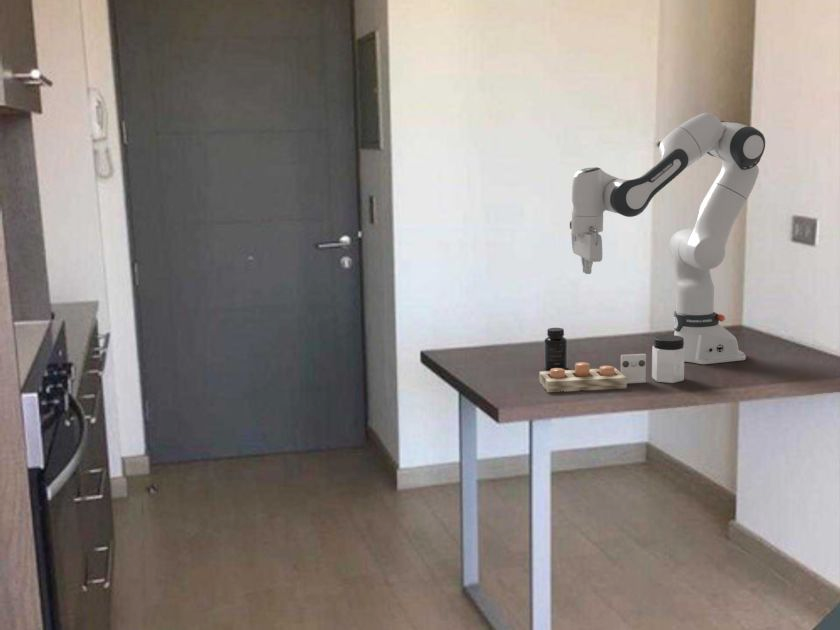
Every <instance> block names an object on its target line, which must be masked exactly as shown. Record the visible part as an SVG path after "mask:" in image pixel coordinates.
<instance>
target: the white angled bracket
mask: <svg viewBox="0 0 840 630" xmlns="http://www.w3.org/2000/svg"><path fill="white" fill-rule="evenodd" d="M620 372H621V373H622V374H623V375H624V376H625V377H627V384H642V383H647V380H646V379H647V377H646V376H647V374H646V373H647V354H646V353H636V354H632V353H631V354H620Z"/></svg>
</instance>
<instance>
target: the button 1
mask: <svg viewBox="0 0 840 630" xmlns="http://www.w3.org/2000/svg"><path fill="white" fill-rule="evenodd" d="M565 370H566V369H562V368H553V369H550V370H549V371H550V378H551V379H553V378H565Z"/></svg>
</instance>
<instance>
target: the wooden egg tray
mask: <svg viewBox="0 0 840 630" xmlns="http://www.w3.org/2000/svg"><path fill="white" fill-rule="evenodd" d="M538 373H539V374H538V380H539V381H538V382H539V384H540V385H541V384H542V385H541V386H542V387H543V388H544V390H545V389H546V390H547V391H546V390H545V391H546V392H547V393H560V391H561V392H562V391H564V392H579V391H580V390H583V391H601V390H621V389H627V388H628V383H627V377H625V376H624V375H623V374H622V373H621V370H619V369H617V368H616V367H614V375H612V376H600V368H590V375H589V376H576V375H575V369H565V378H553V379H551V378H550V370H545V371H543V370H542V371H539V372H538ZM580 392H581V391H580Z"/></svg>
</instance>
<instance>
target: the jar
mask: <svg viewBox="0 0 840 630" xmlns="http://www.w3.org/2000/svg"><path fill="white" fill-rule="evenodd" d="M683 345H684V339H683V337H680V336H676V335H674V334H660V335H656V336H654V337H653V345H652V350H651V351H652V353H651V378H652V379H653V380H655V382H656V383H668V384H675V383H678V382H683V381H684V380H685V361H684V358H685V348H683Z"/></svg>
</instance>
